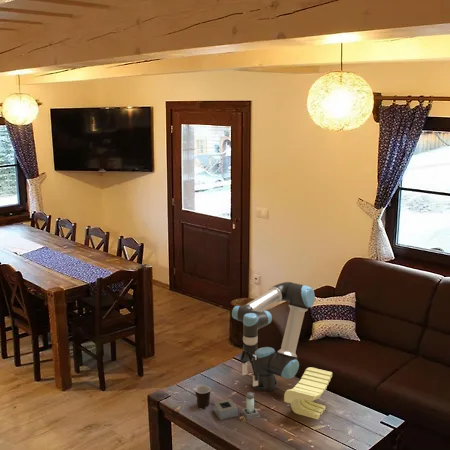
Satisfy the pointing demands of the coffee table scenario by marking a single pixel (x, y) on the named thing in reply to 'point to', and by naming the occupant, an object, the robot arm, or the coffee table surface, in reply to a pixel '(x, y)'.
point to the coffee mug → (202, 396)
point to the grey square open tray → (252, 415)
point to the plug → (250, 403)
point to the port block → (225, 409)
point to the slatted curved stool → (309, 392)
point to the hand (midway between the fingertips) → (250, 379)
